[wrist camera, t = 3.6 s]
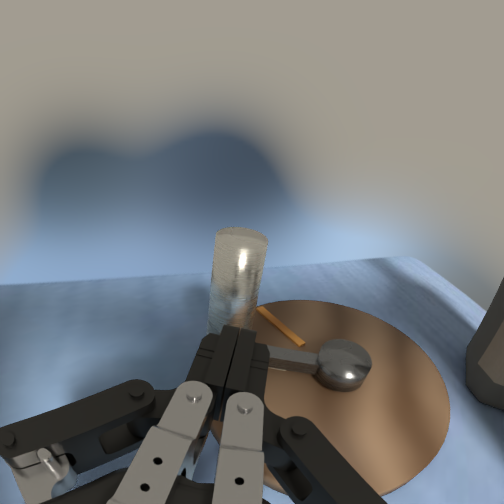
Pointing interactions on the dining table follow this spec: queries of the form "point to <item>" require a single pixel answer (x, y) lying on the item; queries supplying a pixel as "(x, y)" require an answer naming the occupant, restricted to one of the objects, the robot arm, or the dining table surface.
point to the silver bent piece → (244, 304)
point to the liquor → (488, 355)
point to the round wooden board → (357, 392)
